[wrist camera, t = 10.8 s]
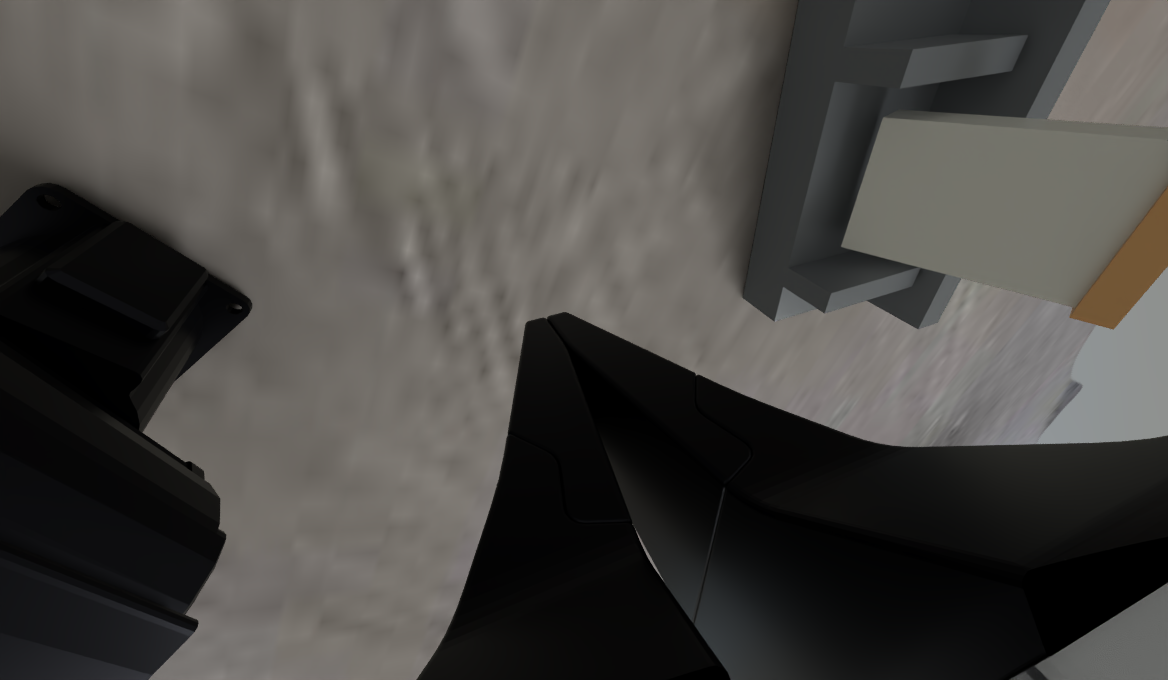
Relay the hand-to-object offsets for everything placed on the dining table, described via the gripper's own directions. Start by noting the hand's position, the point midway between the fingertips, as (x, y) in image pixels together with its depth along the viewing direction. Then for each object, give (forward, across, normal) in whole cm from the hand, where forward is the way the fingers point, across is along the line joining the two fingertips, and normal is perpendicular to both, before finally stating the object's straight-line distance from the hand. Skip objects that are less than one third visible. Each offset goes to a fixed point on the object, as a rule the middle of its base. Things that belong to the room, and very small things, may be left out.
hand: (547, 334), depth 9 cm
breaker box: (+12, -20, +2) cm, 23 cm away
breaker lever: (+9, -18, +2) cm, 20 cm away
